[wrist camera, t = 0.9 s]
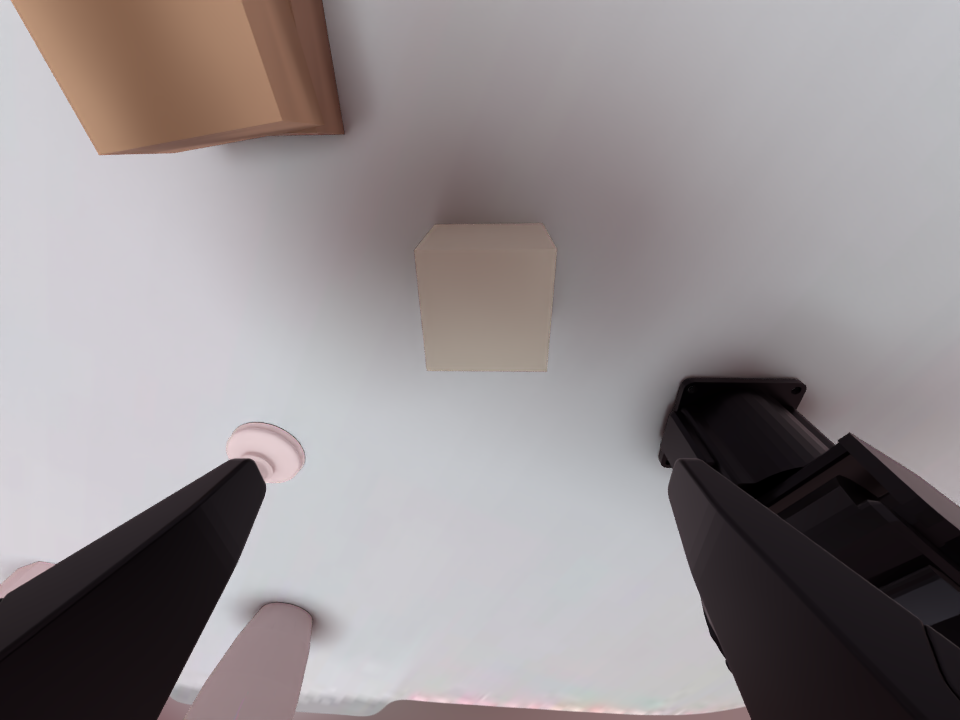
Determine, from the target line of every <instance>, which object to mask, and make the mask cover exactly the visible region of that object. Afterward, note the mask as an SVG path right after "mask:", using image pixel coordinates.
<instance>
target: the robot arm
mask: <svg viewBox="0 0 960 720" xmlns="http://www.w3.org/2000/svg"><path fill="white" fill-rule="evenodd" d="M691 386H694V387H693V388H692V389H689V388H690V387H691ZM793 388H795V389H793ZM806 388H807V387H806V385H805V384H803V383H802V382H801V381H800V380H798V379H740V378H689V379H686V380H685V381H683V382H682V384H681V386H680V389H679V392H678V396H677V399H676V402H675V405H674V409H673V411H672V412H671V414H670V415H669V418H668V421H667V424H666V428H665V431H664V434H663V438H662V441H661V452H660V455H659V461H660V463H661V465H662V466H663V467H666V468H672V469H673V471H672V474H671V478H670V481H669V485H668V496H669V500H670V503H671V507H672V510H673V514H674V517H675V520H676V524H677V527H678V531H679V534H680V537H681V541H682V544H683V547H684V551H685V554H686V558H687V561H688V564H689V567H690V570H691V573H692V576H693V579H694V581H695V584H696V586H697V589H698V591H699V594H700V597H701V601H702V606H703V611H704V615H705V619H706V622H707V626H708V628H709V632H710V635H711V637H712V639H713V640H714V641H715V643H716V644H717V646H718V648H719V650H720V651H721V653H722V654H723V656H724V657H725V659H726V660H725V661H726V665H727V667H728V669H729V670H730V671H731V673H732V674H733V676H734V679H735V681H736V684H737V686H738V688H739V691H740V693H741V696H742V698H743V701H744V703H745V705H746V708H747V710H748V713H749V715H750V717H751V720H960V507H959V506H958V505H956V504H955V503H954V502H952V501H951V500H950V499H949V498H947V497H946V496H945V495H943V494H942V493H941V492H939V491H938V490H937V489H935V488H934V487H933V486H931V485H930V484H929V483H928V482H926V481H925V480H924V479H922V478H921V477H920V476H918V475H917V474H915V473H914V472H912V471H910V470H909V469H907V468H906V467H904V466H902V465H901V464H899V463H898V462H896V461H894V460H893V459H891V458H890V457H888V456H887V455H885V454H883V453H882V452H880V451H879V450H877V449H875V448H874V447H872V446H871V445H869V444H867V443H866V442H864V441H863V440H861V439H859V438H858V437H856V436H855V435H853V434H851V433H850V432H849V433H848V434H847V435H845V436H844V437H842V438H841V439H839V440H838V442H839V443H838V444H836V445H835V444H834V443H832V442H831V441H830V440H829V439H828V438H827V437H826V436H825V435H823V434H822V433H821V432H820V431H819V430H818V429H817V428H816V427H815V426H813V425H812V424H811V423H810V422H809V421H808V420H807V419H806V418H805V417H803V416H802V415H801V414H800V413H799V412H798V411H797V410H796V409H797V407H798V405H799V403H800V401H801V399H802V397H803V395H804V393H805V391H806ZM792 389H793V390H792ZM265 493H266V484H265V481H264V479H263V477H262V475H261V473H260V471H259V469H258V467H257V464H256V463H255V461H254V460H252V459H250V458H234V459H230V460H228V461H227V462H225V463H223V464H222V465H220V466H218V467H217V468H215V469H213V470H212V471H210V472H209V473H207V474H205V475H204V476H202V477H200V478H199V479H197V480H195V481H194V482H192V483H190V484H189V485H187V486H185V487H184V488H182V489H180V490H179V491H177V492H175V493H174V494H172V495H170V496H169V497H167V498H165V499H164V500H162V501H160V502H159V503H157V504H155V505H154V506H152V507H150V508H149V509H147V510H145V511H144V512H142V513H140V514H139V515H137V516H135V517H134V518H132V519H130V520H129V521H127V522H125V523H124V524H122V525H120V526H119V527H117V528H115V529H114V530H112V531H111V532H109V533H107V534H106V535H104V536H102V537H101V538H99V539H97V540H96V541H94V542H92V543H91V544H89V545H87V546H86V547H84V548H82V549H81V550H79V551H77V552H76V553H74V554H72V555H71V556H69V557H67V558H66V559H64V560H62V561H61V562H59V563H57V564H56V565H54V566H52V567H51V568H49V569H47V570H46V571H44V572H42V573H41V574H39V575H37V576H36V577H34V578H32V579H31V580H29V581H27V582H26V583H24V584H22V585H21V586H19V587H17V588H16V589H14V590H13V591H11V592H9V593H8V594H6V595H5V597H4V598H0V720H157V719H158V717H159V715H160V713H161V711H162V709H163V707H164V705H165V703H166V701H167V699H168V697H169V696H170V694H171V692H172V690H173V688H174V686H175V684H176V682H177V680H178V678H179V676H180V674H181V672H182V670H183V668H184V666H185V664H186V662H187V661H188V659H189V657H190V655H191V653H192V651H193V649H194V647H195V645H196V643H197V641H198V639H199V637H200V635H201V633H202V631H203V629H204V628H205V626H206V624H207V622H208V620H209V618H210V616H211V614H212V612H213V610H214V608H215V606H216V604H217V602H218V600H219V598H220V596H221V594H222V593H223V591H224V589H225V587H226V585H227V583H228V581H229V579H230V577H231V575H232V573H233V571H234V569H235V567H236V565H237V563H238V560H239V558H240V556H241V553H242V551H243V549H244V546H245V544H246V541H247V539H248V536H249V534H250V531H251V529H252V526H253V524H254V521H255V519H256V516H257V514H258V511H259V509H260V506H261V504H262V502H263V499H264V497H265Z"/></svg>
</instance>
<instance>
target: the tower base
mask: <svg viewBox="0 0 960 720" xmlns="http://www.w3.org/2000/svg"><path fill="white" fill-rule="evenodd" d="M288 2H289V5H290V9H291V12H292V15H293V19H294V22H295V25H296V29H297V32H298V35H299V39H300V42H301V46H302V49H303V52H304V56H305V59H306V62H307V66H308V69H309V72H310V76H311V79H312V83H313V86H314V89H315V93H316V96H317V99H318V103H319V106H320V109H321V113H322V116H323V120H324V123H325V126H319V127H314V128H308V129H303V130H298V131H292V132H287V133H281V134H276V135H270V136H288V135H340V134H345V133H344V128H343V122H342V116H341V110H340V104H339V98H338V92H337V86H336V80H335V74H334V68H333V62H332V57H331V51H330V45H329V39H328V33H327V27H326V21H325V15H324V9H323V3H322V0H288Z"/></svg>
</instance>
